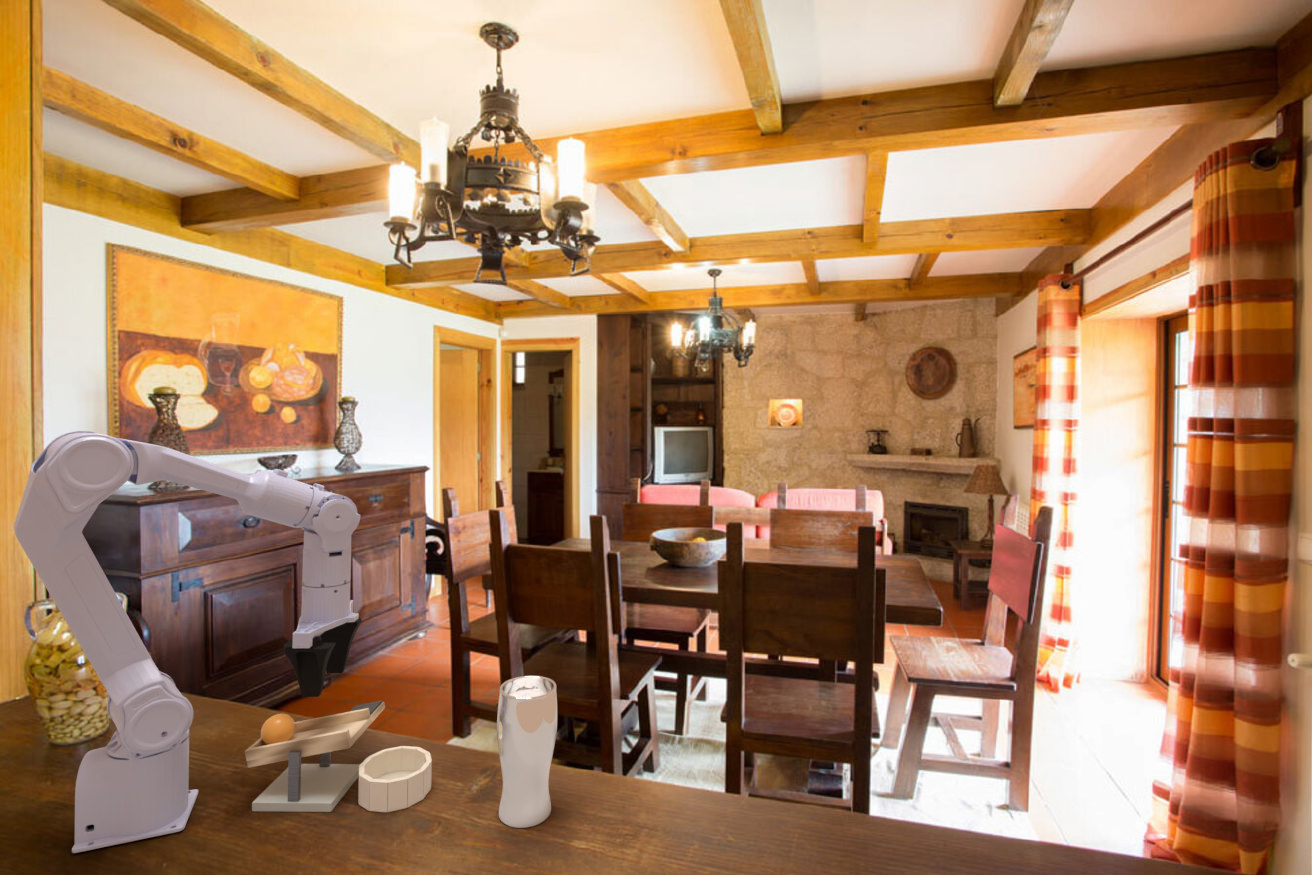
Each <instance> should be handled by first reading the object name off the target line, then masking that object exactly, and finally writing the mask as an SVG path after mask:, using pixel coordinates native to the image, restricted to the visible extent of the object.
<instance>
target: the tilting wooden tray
mask: <svg viewBox="0 0 1312 875" xmlns="http://www.w3.org/2000/svg"><path fill="white" fill-rule="evenodd" d="M385 704H386V703H385V701H382V700H377V701H372V702H366V703H363V704H362V703H361V704H357V705H354V706H353V707H352V708H351V709H350V710H349V711H345V712H340V713H334V714H329V715H325V716H321V717H320V716H319V717H315V718H314V717H313V718H309V719H303V720H299V721H294V722H295V730H294V733H293V735H292V737H291V738H290V739H289V740H288V741H285V742H280V743H274V744H269V745H267V744H266V743H265V742H264V741H263V740H262V738H261V737H259V738H258V739H257V740H256V741H255V742H254V743H253V744H251V745H250V746H249V747H248V748H247V749H245V750H244V754H245V756H244V757H245V759H246V765H247V768H253V767H254V768H255V767H258V766H264V765H269V764H275V763H279V762H280V763H281V762H284V761H285V762H286V761H288V754H289V752H290V751H291V750H301V758H306V757H311V756H315V755H320V754H322V753H327V752H331V753H332V752H335V751H341V750H347V749H350V748H351V747H352V746H353V745H354V744H355V743H356V741H358V739H360V737H361V736H362V735H363V734H364V732H365V731H366V730H368V728H369V726H371V725H372V723H373V722H375V721H376V719H377V718H378V717H379V716H380V714H381V713H382V712H383V711H384V710H385V709H386V705H385Z"/></svg>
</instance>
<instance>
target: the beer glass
mask: <svg viewBox="0 0 1312 875" xmlns="http://www.w3.org/2000/svg"><path fill="white" fill-rule="evenodd" d="M557 696H558V695H557V684H556V682H555V681H554V680H553V679H552V678H549V677H545V676H542V675H522V676H517V677H513V678H510V679H507V680H505V681H504V682H503V683H502V684H501V685H500V687H499V697H498V705H497V718H496V719H497V720H496V740H497V749H498V755H499V762H500V767H501V768H500V769H501V775H502V792H501V796H500V802H499V806H498V817H499V820H500V821H501V822H502V824H505V825H506V826H508V827H511V828H516V829H528V828H532V827H535V826H537V825H540V824H541V823H543V822H544V821H546V820H547V819H548V818H549V816H550V815H551V812H552V803H551V802H552V801H551V797H550V796H551V795H550V791H549V787H550V786H549V781H550V780H549V779H550V777H549V776H550V770H551V764H552V760H553V756H554V755H553V754H554V750H555V744H556V738H557V732H558V731H557V730H558V697H557Z"/></svg>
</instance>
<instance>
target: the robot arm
mask: <svg viewBox="0 0 1312 875" xmlns="http://www.w3.org/2000/svg"><path fill="white" fill-rule="evenodd" d="M288 476H289V471H285V470H283V469H278V468H274V469H273V471H271V470H267V469H263V470H260V471H258V472H255V473H252V474H249V475H247V474H243V473H241V472H238V471H235V470H232V469H229V468H227V467H223V466H221V465H218V464H215V463H212V462H209V461H207V460H204V459H201V458H198V457H195V456H192V455H190V454H186V453H184V452H181V451H179V450H176V449H173V448H170V447H166V446H163V445H158V444H153V443H148V442H141V441H138V440H131V439H126V438H120V437H114V436H110V435H108V434H105V433H98V432H95V431H89V430H75V431H70V432H66V433H64V434H61V435H59V436H57V437H55V438H54V439H53V440H51V441H50V443H48V444H47V446H46V447H45V448H44V449H43V450H42V451H41V453H40V454H39V455H38V456H37V457H36V459H35V460H34V461H33V462H32V463H31V465H30V469H29V474H28V478H27V480H26V485H25V488H24V492H23V493H22V497H21V500H20V504H19V507H18V510H17V514H16V517H15V519H14V523H13V530H14V534H15V538H16V540H17V542H18V543H19V544H20V547H21V548H22V549H23V552H24V554H25V555H26V556H27V558H28V559H29V561H30V563H31V565H32V567H33V569H34V570H35V571H36V573H37V574H38V577H39V578H40V580H41V582H42V583H43V585H44V587H45V589H46V590H47V592H48V594H49V595H50V597H51V599H52V600H53V602H54V604H55V605H56V607H57V610H59V613H60V614H61V615H62V617H63V619H64V620H65V622H66V624H67V626H68V627H69V629H70V631H71V633H72V634H73V636H74V638H75V639H76V641H77V643H78V644H79V646H80V648H81V649H82V651H83V653H84V655H85V656H86V658H87V659H88V662H89V664H90V665H91V667H92V668H93V669H94V671H95V673H96V675H97V676H98V678H99V680H100V682H101V684H102V685H103V687H104V688H105V691H106V692H107V695H108V696H107V704H106V709H107V710H106V711H107V715H108V716H109V719H110V720H111V721H113V723H114V725H115V727H116V730H115V731H114V733H113V735H112V736H111V737H110V741H109V742H108V743H107V745H106V746H103V747H99V748H95V749H91V750H89V751H87V752H86V753H85V755H83V758H82V760H81V762H80V765H79V768H78V771H77V776H76V781H75V789H74V792H75V793H74V843H73V844H74V845H73V846H72V848H71V853H72V854H77V853H82V852H87V851H92V850H96V849H101V848H105V847H106V848H107V847H111V846H115V845H121V844H126V843H130V842H135V841H140V840H144V839H149V838H154V837H160V836H164V835H169V834H174V833H179V832H181V831H183V830H184V829H185V828H186V826H187V822H188V819H189V818H190V815H191V812H192V810H193V808H194V805H195V804H196V800H197V798H198V796H199V789H197V788H196V789H194V788H193V789H189V786H190V785H189V781H190V779H189V778H190V776H189V775H190V774H189V773H190V768H189V767H190V728H191V726H192V723H193V720H194V708H193V705H192V703H191V702H190V700H189V699H188V697H186V696H184V695H183V694H182V693H181V692H180V690H179V689H178V688H177V686H176V685H177V684H176V683H175V681H174V679H173V678H172V677H171V676H170V675H168V674H167V673H164V672H162V671H161V670H159V668H158V667H157V665H156V663H155V662H154V660H153V659H152V657H151V655H150V653H149V650H148V649H147V648H146V646H145V644H144V642H143V640H142V638H141V637H140V635H139V633H138V631H137V630H136V628H135V626H134V624H133V622H132V620H131V619H130V617H129V615H128V614H127V612H126V609H125V608H124V606H123V605H122V604H123V603H121V601H120V599H119V597H118V595H117V594H116V592H115V590H114V588H113V586H112V585H111V583H110V581H109V579H108V577H107V576H106V574H105V572H104V570H103V568H102V566H101V565H100V564H99V561H98V559H97V558H96V555H95V554H94V551H92V550H93V549H92V548H91V547H90V545H89V543H88V541H87V540H86V538H85V536H84V534H83V530H84V528H85V527H86V525H87V524H88V522H89V521H90V519H91V517H92V516H93V514H94V513H95V511H96V510H97V509H98V508H99V505H100V504H101V503H102V502H104V501H105V500H106V499H107V498H109V497H110V496H112V495H113V494H114V493H115V492H116V491H118V490H119V489H121V487H123V486H124V485H125V484H126V483H127V482H129V483H131V484H133V485H135V486H140V485H145V484H150V483H156V482H161V481H166V482H167V481H168V482H172V483H175V484H177V485H182V486H185V487H190V488H194V489H198V490H200V491H201V490H202V491H205V492H208V493H213V494H217V495H219V496H222V497H227V498H231V499H234V500H236V501H237V503H238V504H239V507H240V508H241V511H242V512H243V514H245V515H248V516H251V517H255V518H257V519H263V520H266V521H269V522H272V523H276V524H279V525H283V526H286V527H287V526H288V527H290V528H294V529H302V530H303V549H302V571H301V572H302V575H301V576H302V577H301V578H302V579H301V580H302V581H301V610H300V612H301V614H300V617H299V619H298V622H297V623H298V624H297V627H296V630H295V631H293V632H292V639H291V640H288V641H287V642H286V643H284V644H283V653H284V656H286V658H287V659H288V660H289V662H290V664H291V666H292V668H293V670H294V673H295V676H296V679H297V682H298V686H299V687H298V688H299V690H300V693H301V694H300V695H301V696H302V698H310V697H311V698H317V697H320V696H321V695H322V693H323V690H324V685H325V677H326V674H343V673H344V672H345V669H346V665H347V661H348V659H349V654H350V649H351V646H352V643H353V640H354V638H355V635H356V633H357V631H358V629H359V628H360V626H361V623H362V617H360V614H359V613H358V612H354V600H353V599H351V577H352V571H351V570H352V535H353V533H354V532H355V531H356V529H357V528H358V526H359V524H360V522H361V521H360V520H361V514H359V513H358V508H357V505H356V504H355V502H353V500H352V499H351V498H349V497H348V496H345V495H343V494H339V493H335V492H330V491H328V490H327V489H325V485H322V484H320V483H313V485H312V484H308V483H306V482H302V481H299V480H296V479H293V478H290V477H288Z"/></svg>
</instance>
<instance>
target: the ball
mask: <svg viewBox="0 0 1312 875" xmlns="http://www.w3.org/2000/svg"><path fill="white" fill-rule="evenodd" d="M295 722H296V721H295V720H294V718H293V717H292V716H291V715H289V714H286V713H276V714H274V715H272V716H270V717H269V718H267V719H266V720H265V721H264V723H263V724H262V726H261V729H260V738H262V740H263V741H264V742H265V743H266V744H267V745H269V744H274V743H280V742H285V741H288V740H289V739H290V738H291V737H292V735H293V733H294V730H295Z"/></svg>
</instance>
